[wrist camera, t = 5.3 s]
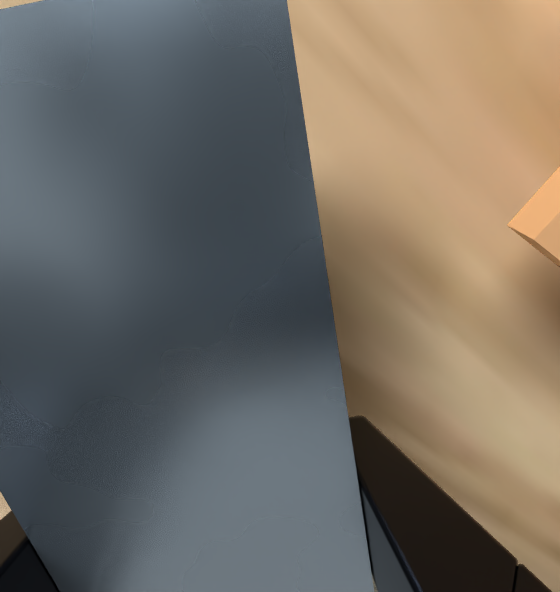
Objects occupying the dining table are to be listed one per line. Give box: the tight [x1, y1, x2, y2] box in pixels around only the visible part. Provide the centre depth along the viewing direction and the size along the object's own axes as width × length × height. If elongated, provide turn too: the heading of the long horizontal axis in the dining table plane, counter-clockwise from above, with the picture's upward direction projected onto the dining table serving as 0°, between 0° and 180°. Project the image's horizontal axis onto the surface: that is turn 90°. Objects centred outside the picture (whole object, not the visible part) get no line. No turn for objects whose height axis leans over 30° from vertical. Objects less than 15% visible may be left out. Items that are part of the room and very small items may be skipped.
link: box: [0, 0, 378, 592], centre depth 8 cm, size 15×6×3 cm, turn 10°
